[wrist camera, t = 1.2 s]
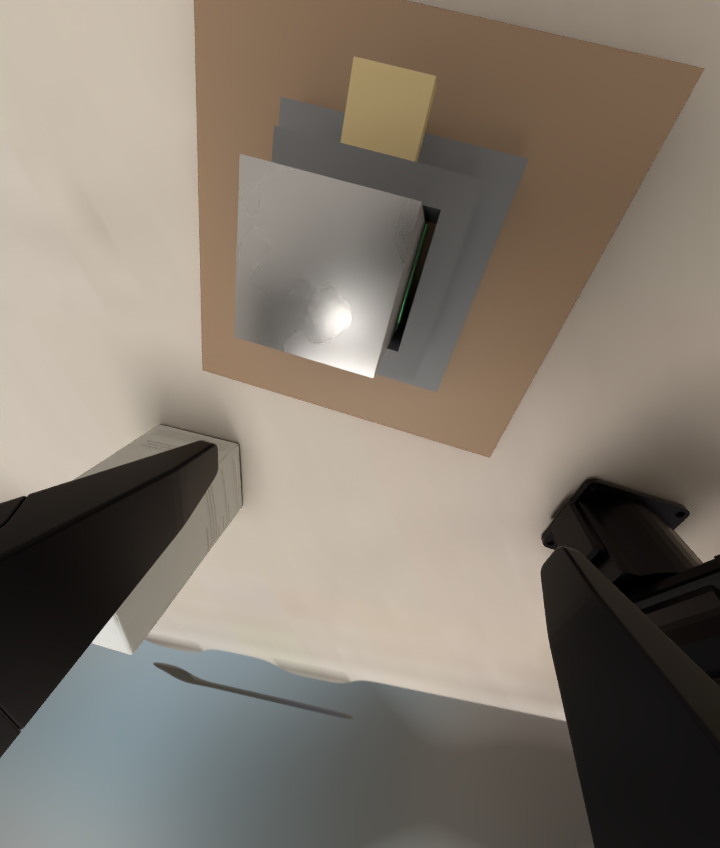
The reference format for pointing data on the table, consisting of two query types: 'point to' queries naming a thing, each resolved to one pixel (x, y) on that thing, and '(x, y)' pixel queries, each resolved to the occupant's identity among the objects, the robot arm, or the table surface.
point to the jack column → (322, 264)
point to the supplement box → (187, 545)
